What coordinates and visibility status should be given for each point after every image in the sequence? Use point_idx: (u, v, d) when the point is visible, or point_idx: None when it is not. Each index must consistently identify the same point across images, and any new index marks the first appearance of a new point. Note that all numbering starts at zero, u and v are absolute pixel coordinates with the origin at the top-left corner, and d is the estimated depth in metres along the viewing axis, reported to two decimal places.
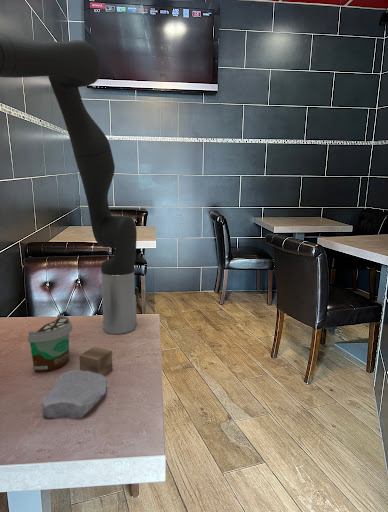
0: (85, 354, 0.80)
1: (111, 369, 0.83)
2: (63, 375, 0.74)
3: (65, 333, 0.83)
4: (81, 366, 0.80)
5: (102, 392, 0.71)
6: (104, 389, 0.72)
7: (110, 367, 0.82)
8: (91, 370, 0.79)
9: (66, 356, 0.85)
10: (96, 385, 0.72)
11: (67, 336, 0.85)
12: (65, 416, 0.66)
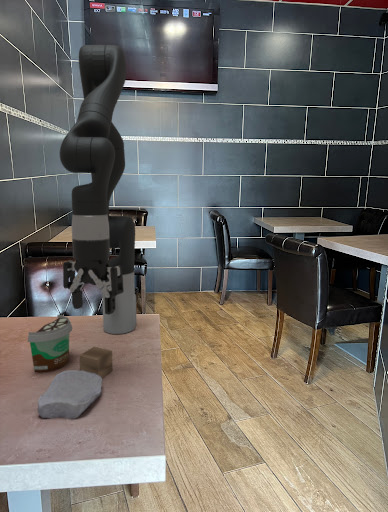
0: (85, 354, 0.80)
1: (111, 369, 0.83)
2: (58, 375, 0.74)
3: (65, 333, 0.83)
4: (81, 366, 0.80)
5: (97, 392, 0.71)
6: (99, 389, 0.72)
7: (110, 367, 0.82)
8: (91, 370, 0.79)
9: (66, 356, 0.85)
10: (92, 385, 0.72)
11: (67, 336, 0.85)
12: (60, 416, 0.66)
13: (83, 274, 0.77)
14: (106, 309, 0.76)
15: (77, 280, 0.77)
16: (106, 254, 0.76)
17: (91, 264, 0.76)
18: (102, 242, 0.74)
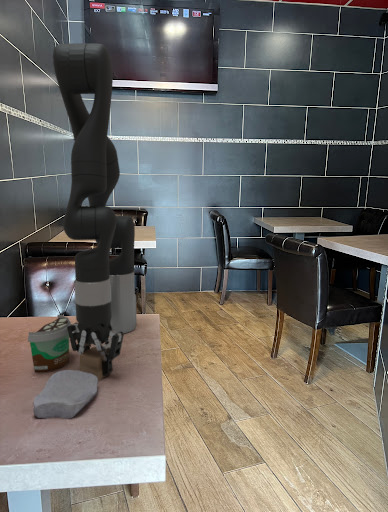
0: (85, 354, 0.80)
1: None
2: (54, 375, 0.74)
3: (65, 333, 0.83)
4: (81, 366, 0.80)
5: (93, 391, 0.71)
6: (95, 388, 0.72)
7: None
8: (91, 370, 0.79)
9: (66, 356, 0.85)
10: (88, 385, 0.72)
11: (67, 336, 0.85)
12: (56, 416, 0.66)
13: (86, 335, 0.79)
14: (103, 371, 0.79)
15: (83, 342, 0.80)
16: (109, 317, 0.78)
17: (94, 326, 0.78)
18: (104, 306, 0.77)
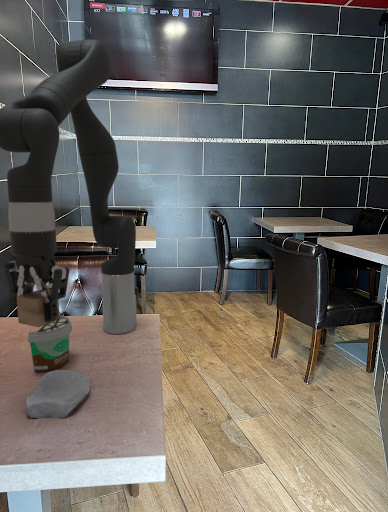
0: (24, 296, 0.66)
1: (57, 316, 0.69)
2: (46, 375, 0.73)
3: (65, 333, 0.83)
4: (19, 310, 0.66)
5: (86, 391, 0.71)
6: (88, 388, 0.72)
7: None
8: (30, 314, 0.65)
9: (66, 356, 0.85)
10: (80, 384, 0.72)
11: (67, 336, 0.85)
12: (48, 415, 0.66)
13: (24, 272, 0.65)
14: (45, 316, 0.66)
15: (21, 281, 0.66)
16: (51, 249, 0.64)
17: (33, 261, 0.65)
18: (44, 234, 0.63)
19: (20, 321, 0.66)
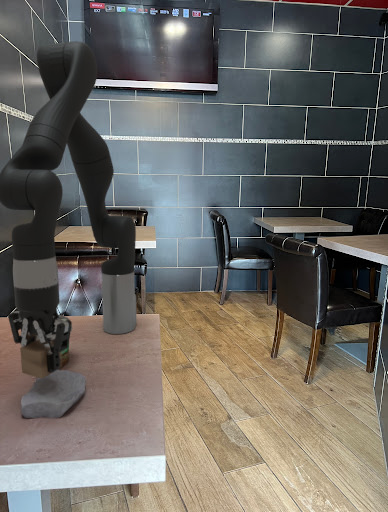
0: (27, 347, 0.68)
1: (60, 364, 0.70)
2: None
3: None
4: (22, 361, 0.68)
5: (81, 391, 0.71)
6: (83, 388, 0.73)
7: None
8: (34, 365, 0.67)
9: (66, 356, 0.85)
10: (75, 384, 0.72)
11: None
12: (43, 415, 0.66)
13: (28, 324, 0.67)
14: (48, 367, 0.67)
15: (25, 333, 0.68)
16: (54, 303, 0.66)
17: (36, 314, 0.66)
18: (48, 290, 0.64)
19: (23, 371, 0.68)
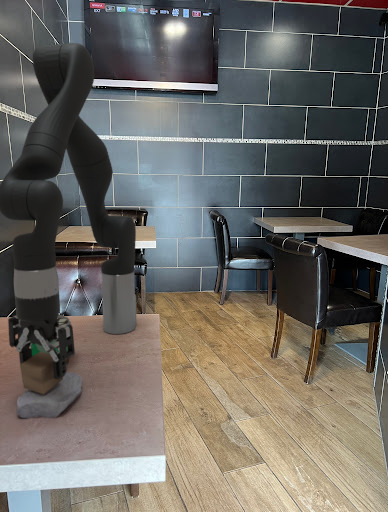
0: (27, 363, 0.68)
1: None
2: None
3: None
4: (23, 376, 0.68)
5: (77, 391, 0.72)
6: (79, 388, 0.73)
7: None
8: (35, 381, 0.67)
9: None
10: (72, 384, 0.73)
11: None
12: (40, 416, 0.66)
13: (29, 333, 0.67)
14: (55, 374, 0.67)
15: (23, 340, 0.68)
16: (55, 312, 0.66)
17: (37, 323, 0.67)
18: (48, 299, 0.65)
19: (25, 387, 0.69)
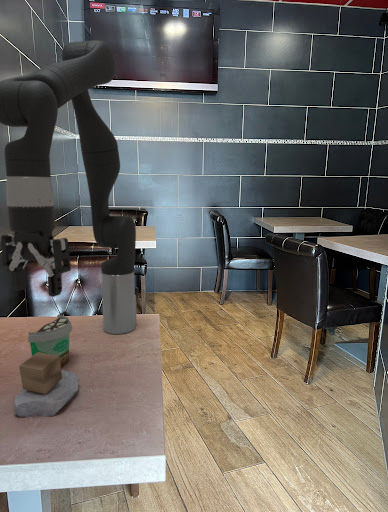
0: (26, 364, 0.68)
1: (60, 376, 0.71)
2: None
3: (65, 333, 0.83)
4: (22, 378, 0.68)
5: (74, 389, 0.72)
6: (76, 386, 0.73)
7: (59, 374, 0.71)
8: (35, 382, 0.67)
9: (66, 356, 0.85)
10: (69, 383, 0.73)
11: (67, 336, 0.85)
12: (37, 414, 0.67)
13: (23, 249, 0.64)
14: (50, 290, 0.64)
15: (16, 256, 0.65)
16: (49, 225, 0.63)
17: (31, 237, 0.64)
18: (43, 209, 0.62)
19: (24, 388, 0.68)
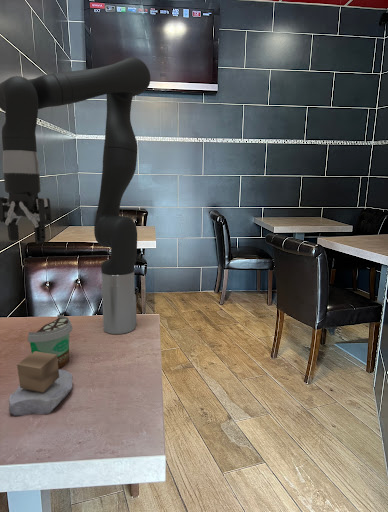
0: (24, 363, 0.68)
1: (57, 375, 0.72)
2: None
3: (65, 333, 0.83)
4: (20, 376, 0.68)
5: (69, 387, 0.73)
6: (70, 384, 0.74)
7: (56, 373, 0.71)
8: (33, 380, 0.68)
9: (66, 356, 0.85)
10: (63, 381, 0.74)
11: (67, 336, 0.85)
12: (32, 412, 0.67)
13: (15, 207, 0.84)
14: (36, 238, 0.84)
15: (10, 213, 0.85)
16: (35, 188, 0.83)
17: (22, 197, 0.84)
18: (30, 176, 0.82)
19: (21, 387, 0.69)
